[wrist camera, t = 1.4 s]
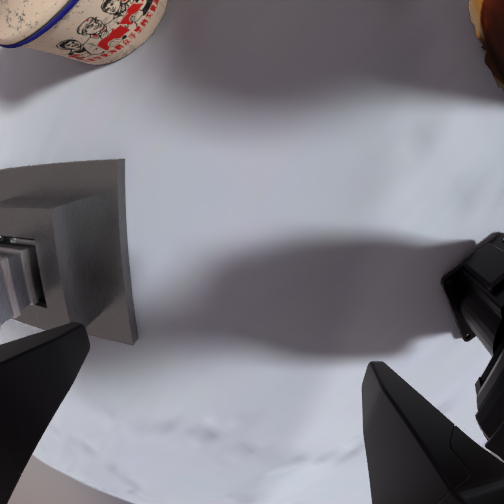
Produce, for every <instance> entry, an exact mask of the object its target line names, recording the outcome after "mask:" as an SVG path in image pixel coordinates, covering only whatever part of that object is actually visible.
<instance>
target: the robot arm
mask: <svg viewBox="0 0 504 504" xmlns="http://www.w3.org/2000/svg"><path fill="white" fill-rule="evenodd" d="M503 238H504V233H500V234H499V235H498V236H497V237H495V238H494V239H493V240H492V241H490V242H489V243H486V244H485V245H484V246H482V247H481V248H480V249H478V250H477V251H476V252H474V253H473V254H472V255H470V256H469V257H468V258H466V259H465V260H464V261H463V263H461V264H460V265H459V266H457V267H456V268H454V269H453V270H452V271H450V272H449V273H447V274H446V275H444V276H443V278H442V279H441V285H442V288H443V290H444V293H445V295H446V297H447V300H448V302H449V305H450V307H451V310H452V313H453V315H454V318H455V320H456V323H457V326H458V329H459V331H460V334H461V337H462V339H463V340H464V341H465V342H467V341H470V340H471V339H473V338H474V337H475V336H477V337H478V339H479V340H480V341H481V342H482V344H483V345H484V346H485V348H486V349H487V350H488V352H489V353H490V354H491V356H492V358H491V360H490V362H489V364H488V366H487V367H486V369H485V371H484V373H483V374H482V376H481V377H479V379H478V380H477V382H476V384H475V387H476V394H477V409H478V412H477V413H476V415H475V416H476V420H477V422H478V425H479V427H480V429H481V430H482V432H483V434H484V436H485V437H486V439H487V440H488V441H487V443H486V444H485V447H486V448H487V449H489V450H490V451H492V452H493V453H495V454H497V455H498V456H499V457H500V458H501V459H502V460H503V461H504V241H503V242H502V240H503ZM448 280H450V282H449V283H448V284H446V282H447V281H448ZM467 334H468V336H466V335H467ZM89 350H90V343H89V339H88V334H87V330H86V327H85V325H84V324H82V323H78V322H71V323H68V324H65V325H62V326H59V327H55V328H52V329H49V330H46V331H43V332H40V333H37V334H33V335H30V336H27V337H24V338H21V339H18V340H14V341H11V342H8V343H5V344H2V345H0V504H7V503H8V501H9V499H10V497H11V495H12V492H13V491H14V489H15V487H16V484H17V483H18V481H19V479H20V477H21V474H22V472H23V470H24V468H25V466H26V465H27V463H28V461H29V459H30V457H31V455H32V453H33V452H34V450H35V448H36V446H37V444H38V442H39V441H40V439H41V437H42V435H43V434H44V432H45V430H46V428H47V426H48V425H49V423H50V421H51V420H52V418H53V416H54V414H55V413H56V411H57V409H58V408H59V406H60V404H61V403H62V401H63V399H64V398H65V396H66V394H67V393H68V391H69V390H70V388H71V386H72V384H73V382H74V381H75V379H76V376H77V374H78V372H79V370H80V368H81V366H82V364H83V362H84V360H85V358H86V356H87V354H88V352H89ZM362 408H363V434H364V442H365V449H366V456H367V463H368V471H369V479H370V488H371V497H372V504H504V463H503V462H502V461H500V460H499V459H498V458H496V457H495V456H493V455H492V454H490V453H489V452H488V451H486V450H485V449H484V448H482V447H481V446H480V445H478V444H477V443H476V442H474V441H473V440H472V439H471V438H470V437H468V436H467V435H466V434H465V433H464V432H463V431H461V430H460V429H459V428H458V427H457V426H454V424H453V423H452V422H451V421H450V420H449V419H448V418H447V417H445V416H444V415H443V414H442V413H441V412H440V411H439V410H438V409H436V408H435V407H434V406H433V405H432V404H431V403H430V402H428V401H427V400H426V399H425V398H424V397H423V396H422V395H420V394H419V393H418V392H417V391H416V390H415V389H414V388H413V387H411V386H410V385H409V384H408V383H407V382H406V381H405V380H403V379H402V378H401V377H400V376H399V375H398V374H397V373H395V372H394V371H393V370H392V369H391V368H390V367H389V366H388V365H386V364H385V363H384V362H381V361H371V362H370V363H369V364H368V366H367V370H366V373H365V376H364V380H363V383H362Z"/></svg>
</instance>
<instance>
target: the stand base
mask: <svg viewBox="0 0 504 504" xmlns="http://www.w3.org/2000/svg"><path fill="white" fill-rule="evenodd" d="M10 237H21V238H30V239H35V246H36V252H37V259H38V265H39V270H40V276H41V281H42V286H43V291H44V295H42V296H41V297H39V298H38V301H39V302H37V303H36V304H35V305H30V304H29V305H28V306H27V307H25V308H24V309H22V310H21V311H20V313H21V315H19V316H18V317H17V318H12V317H11V318H12V319H15V320H18V321H20V322H23V323H26V324H29V325H32V326H35V327H38V328H41V329H44V330H49V329H52V328H55V327H59V326H62V325H65V324H68V323H71V322H78V323H82V324H84V325H85V327H86V330H87V334H89V335H92V336H96V337H100V338H104V339H108V340H113V341H117V342H121V343H125V344H130V345H134V343H135V342H136V341H137V340H138V334H137V327H136V320H135V313H134V305H133V297H132V288H131V278H130V268H129V257H128V244H127V228H126V206H125V159H108V160H90V161H75V162H62V163H51V164H41V165H32V166H23V167H15V168H7V169H1V170H0V244H3V243H5V242H7V241H10Z"/></svg>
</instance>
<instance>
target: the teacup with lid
mask: <svg viewBox="0 0 504 504" xmlns="http://www.w3.org/2000/svg"><path fill="white" fill-rule="evenodd" d="M167 1H168V0H0V46H2V47H5V48H16V47H20V46H22V47H26V48H31V49H35V50H39V51H43V52H47V53H51V54H55V55H59V56H63V57H66V58H70V59H73V60H77V61H80V62H84V63H87V64H94V65H99V64H106V63H110V62H113V61H116V60H119V59H121V58H123V57H125V56H126V55H128V54H130V53H131V52H133V51H134V50H135V49H137V48H138V47H139V46H140V45H142V44H143V43H144V42H145V41H146V40H147V39H148V38H149V36H150V35H151V34H152V33H153V32H154V30H155V29H156V27H157V26H158V25H159V23H160V21H161V19H162V17H163V15H164V12H165V10H166V6H167Z"/></svg>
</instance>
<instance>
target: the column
mask: <svg viewBox="0 0 504 504" xmlns="http://www.w3.org/2000/svg"><path fill="white" fill-rule="evenodd" d="M42 295H44V291H43V286H42V281H41V276H40V270H39V265H38V259H37V252H36V246H35V239H30V238H21V237H10V241H7V242H5V243H3V244H0V330H1V329H2V328H1V325H2V324H3V323H4V322H6V321H7V320H8V319H10V318H11V317H12V318H17V317H18V316H19V315H21V313H20V311H21V310H22V309H24V308H25V307H27V306H28V305H29V304H30V305H35V304H36V303H37V302H39V301H38V298H39V297H41V296H42Z"/></svg>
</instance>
